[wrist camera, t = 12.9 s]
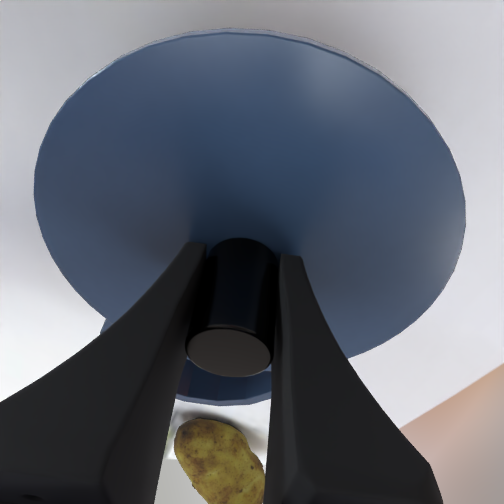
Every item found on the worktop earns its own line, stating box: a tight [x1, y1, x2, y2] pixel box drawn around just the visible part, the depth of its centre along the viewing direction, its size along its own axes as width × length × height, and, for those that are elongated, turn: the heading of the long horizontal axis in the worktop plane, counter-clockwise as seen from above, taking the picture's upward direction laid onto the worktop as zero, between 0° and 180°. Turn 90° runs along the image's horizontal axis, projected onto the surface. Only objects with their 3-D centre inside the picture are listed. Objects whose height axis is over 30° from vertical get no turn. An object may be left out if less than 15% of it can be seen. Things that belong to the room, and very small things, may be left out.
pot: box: [100, 319, 271, 406], centre depth 25 cm, size 13×13×6 cm
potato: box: [174, 418, 265, 504], centre depth 42 cm, size 8×13×8 cm, turn 21°
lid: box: [34, 28, 466, 377], centre depth 11 cm, size 14×14×5 cm
